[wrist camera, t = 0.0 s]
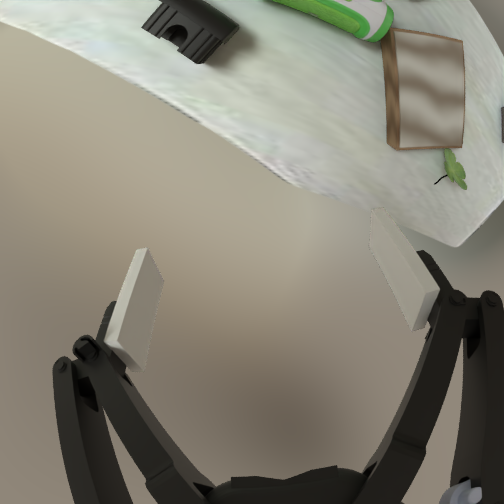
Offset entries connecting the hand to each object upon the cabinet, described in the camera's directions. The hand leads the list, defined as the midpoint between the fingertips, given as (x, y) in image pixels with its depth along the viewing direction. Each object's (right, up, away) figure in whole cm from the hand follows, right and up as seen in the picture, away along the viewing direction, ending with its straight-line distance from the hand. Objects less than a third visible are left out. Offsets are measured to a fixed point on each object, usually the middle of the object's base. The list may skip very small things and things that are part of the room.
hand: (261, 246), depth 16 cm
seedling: (+33, +13, +29) cm, 46 cm away
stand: (+26, +26, +18) cm, 41 cm away
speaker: (+8, +34, +11) cm, 36 cm away
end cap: (-8, +30, +13) cm, 33 cm away
